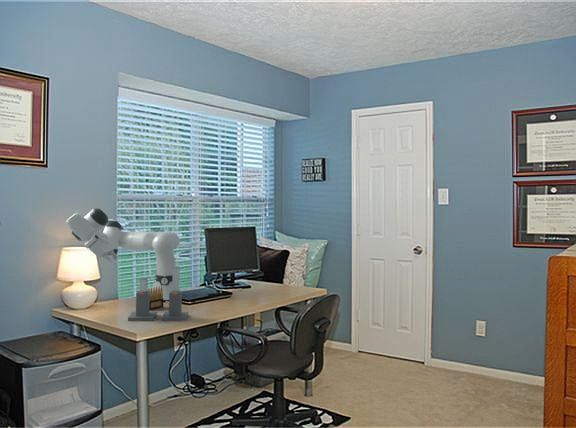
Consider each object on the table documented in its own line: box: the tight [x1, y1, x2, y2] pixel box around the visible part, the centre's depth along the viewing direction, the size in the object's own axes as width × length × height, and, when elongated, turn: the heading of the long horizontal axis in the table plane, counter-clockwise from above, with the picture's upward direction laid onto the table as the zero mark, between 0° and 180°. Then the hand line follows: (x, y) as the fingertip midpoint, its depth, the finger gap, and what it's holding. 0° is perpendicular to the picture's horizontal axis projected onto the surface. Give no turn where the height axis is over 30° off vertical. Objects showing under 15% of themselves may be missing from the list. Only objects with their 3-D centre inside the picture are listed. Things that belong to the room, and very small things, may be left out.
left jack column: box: [139, 277, 148, 293], centre depth 252 cm, size 3×3×17 cm
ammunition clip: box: [147, 286, 164, 311], centre depth 272 cm, size 11×2×12 cm, turn 146°
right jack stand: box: [160, 265, 189, 322], centre depth 253 cm, size 12×12×26 cm
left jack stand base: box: [127, 290, 158, 322], centre depth 252 cm, size 12×12×13 cm
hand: (114, 260), depth 250 cm, fingers open, 8 cm apart
